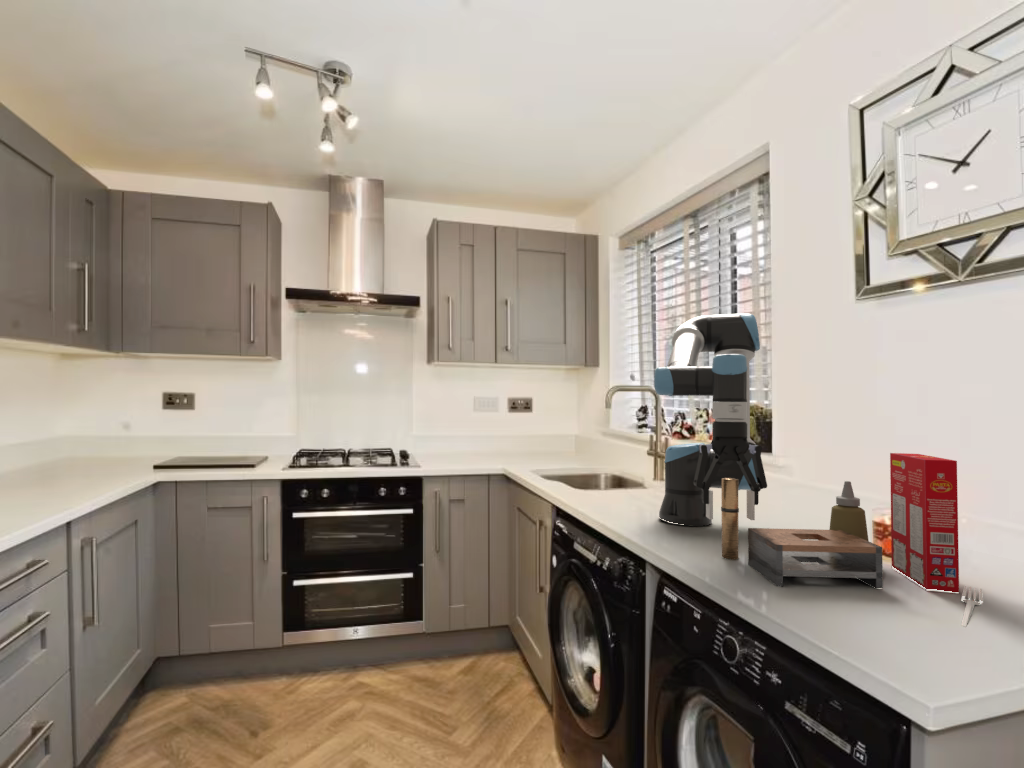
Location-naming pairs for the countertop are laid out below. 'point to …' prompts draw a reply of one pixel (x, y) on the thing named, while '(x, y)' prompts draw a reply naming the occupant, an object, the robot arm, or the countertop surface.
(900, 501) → the food packaging
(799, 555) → the frame
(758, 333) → the robot arm
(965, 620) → the fork
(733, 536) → the wooden peg
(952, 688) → the countertop surface
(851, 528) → the squeeze bottle
